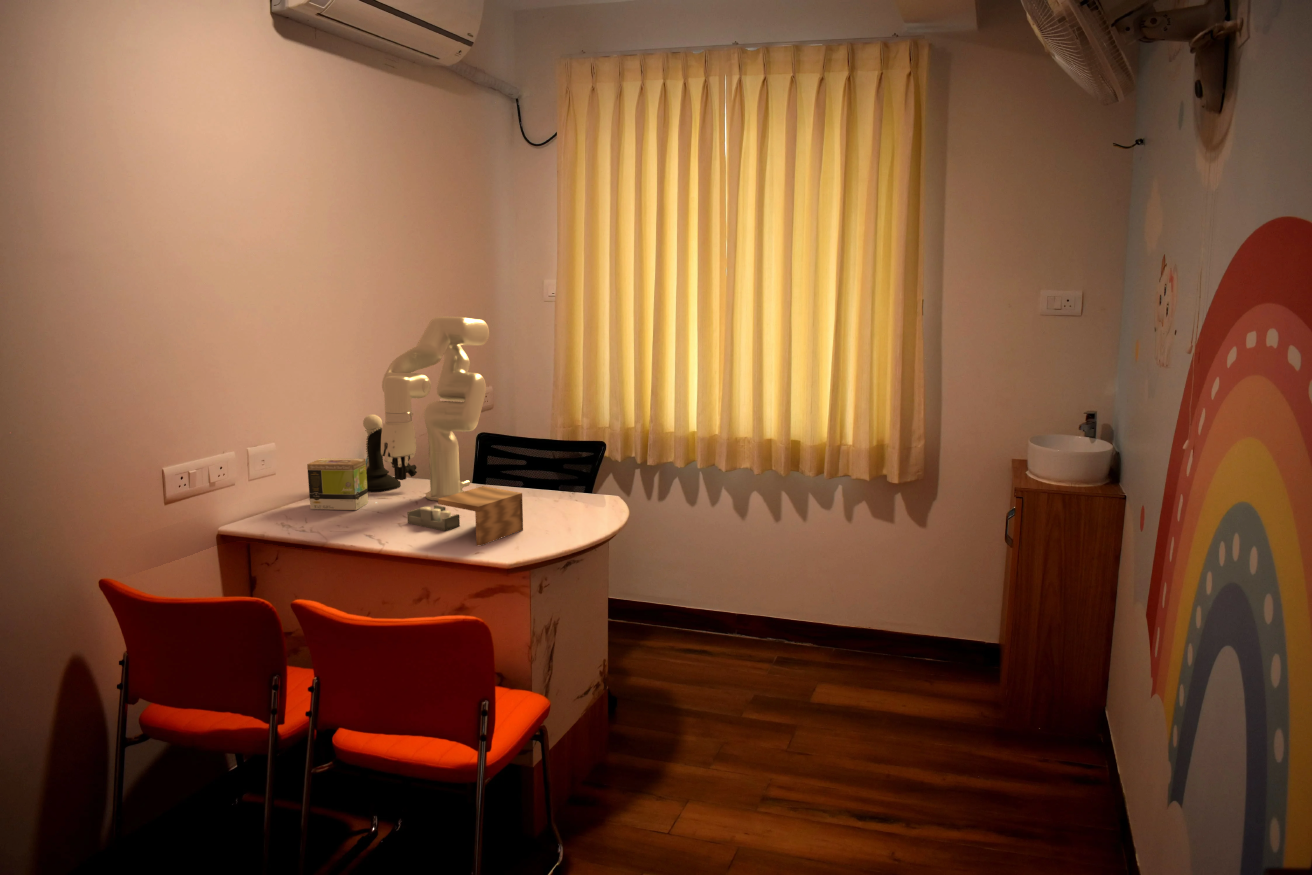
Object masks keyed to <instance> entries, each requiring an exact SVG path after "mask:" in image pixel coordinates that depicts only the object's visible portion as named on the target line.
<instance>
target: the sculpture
mask: <svg viewBox="0 0 1312 875" xmlns="http://www.w3.org/2000/svg"><path fill="white" fill-rule="evenodd" d="M362 425H363V427H364V429H365V432H366V433H367V436H366V444H365V445H366V446H365V447H366V448H365V450H366V455H367V456H366V457H367V461H366V475H367V489H368V493H383V492H388V491H393V490H396V489H399V488H400V487H401V480H397V479H395V476H392V475H390V474H389V473H390V471H389V470H387V469H386V468H385V465H384V458H383V457H384V456H382V455H381V434H382V427H383V420H382V418H381V417H380V416H379V415H377V414H368V415H367V416H365V417H364V419H363V421H362ZM396 460H397V459H396ZM391 465H392V464H391ZM391 467H392V468H393V469H394V466H393V465H392V466H391ZM417 473H418V471H417V466H416V465H415V464H412V465H411V464H410V462H408V465H407V466H406V474H408V475H409V476H410V477H411V478H413V477H414V476H416V475H417Z"/></svg>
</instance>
